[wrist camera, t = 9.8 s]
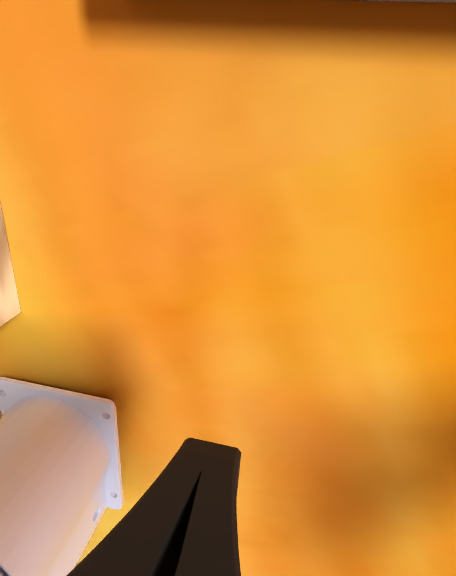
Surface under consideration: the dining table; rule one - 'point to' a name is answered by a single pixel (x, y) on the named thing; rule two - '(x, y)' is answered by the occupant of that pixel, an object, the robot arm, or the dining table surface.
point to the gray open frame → (438, 0)
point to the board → (6, 279)
